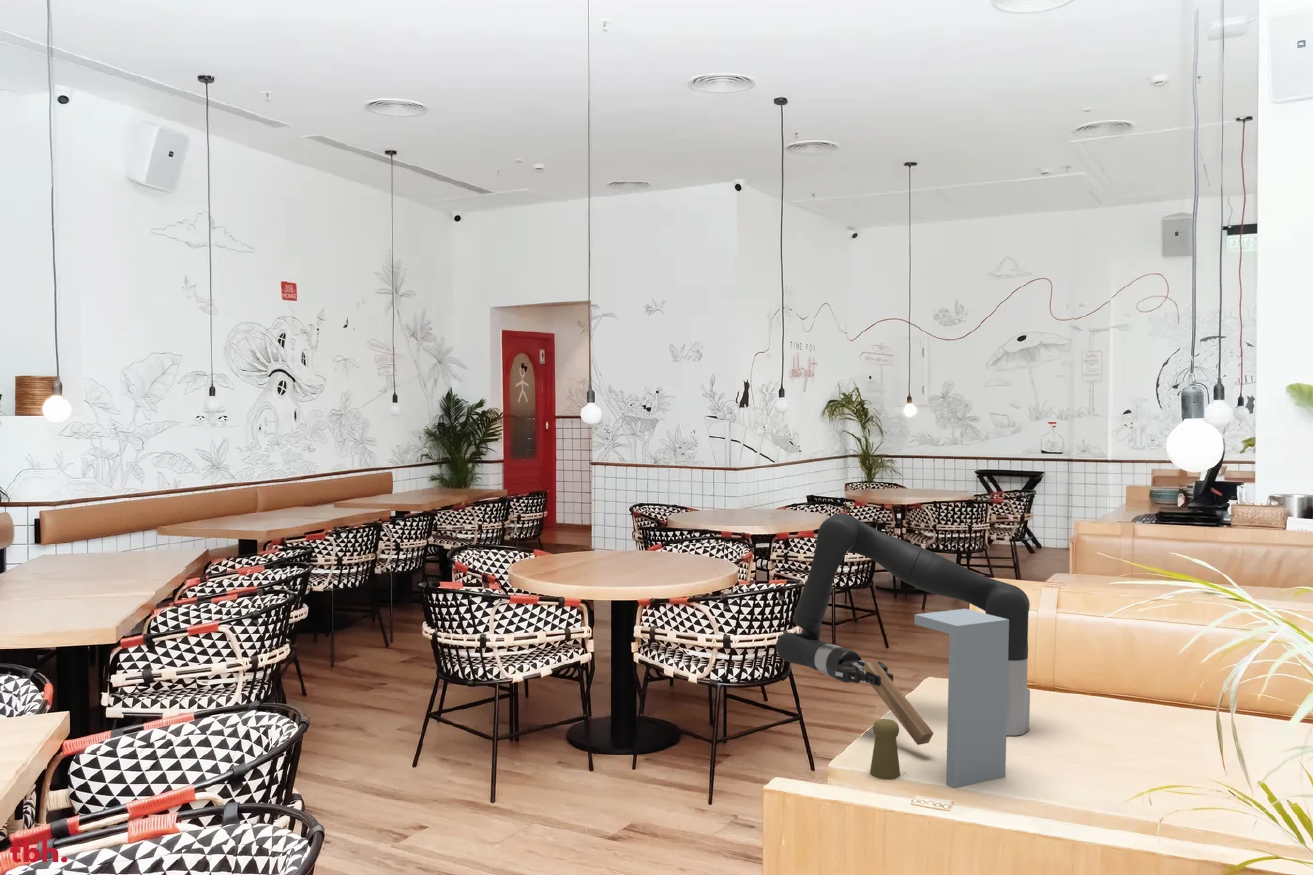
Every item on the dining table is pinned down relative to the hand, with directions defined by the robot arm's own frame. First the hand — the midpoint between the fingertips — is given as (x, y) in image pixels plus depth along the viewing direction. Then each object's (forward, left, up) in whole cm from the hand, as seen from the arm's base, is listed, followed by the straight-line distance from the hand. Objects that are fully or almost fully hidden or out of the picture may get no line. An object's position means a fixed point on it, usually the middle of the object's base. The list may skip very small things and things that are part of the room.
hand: (885, 680), depth 233 cm
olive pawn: (+14, +17, -14) cm, 26 cm away
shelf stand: (0, +23, -13) cm, 26 cm away
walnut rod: (0, +3, -5) cm, 6 cm away
